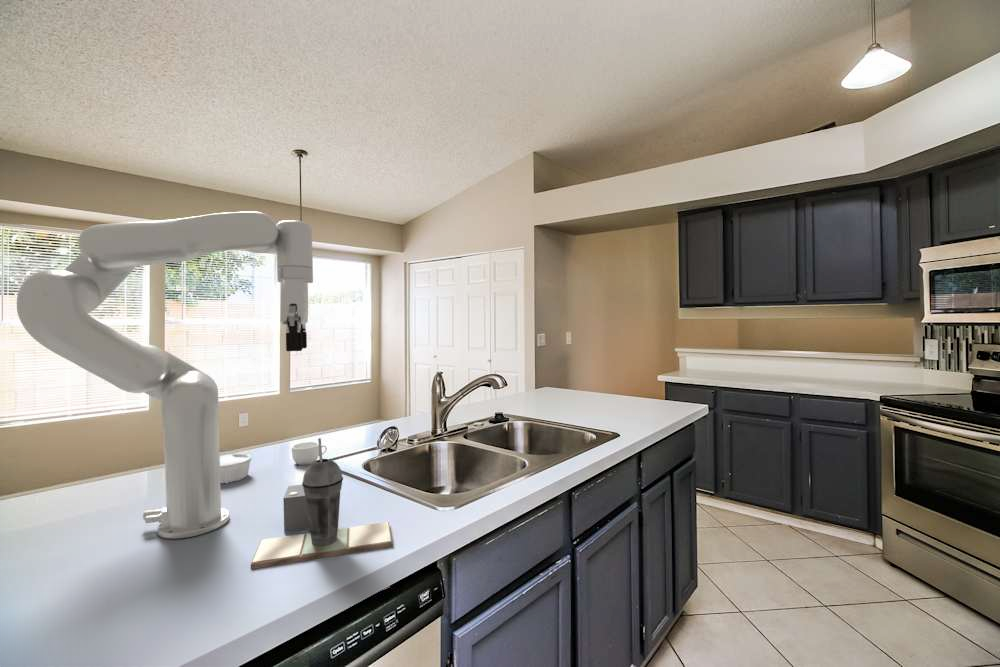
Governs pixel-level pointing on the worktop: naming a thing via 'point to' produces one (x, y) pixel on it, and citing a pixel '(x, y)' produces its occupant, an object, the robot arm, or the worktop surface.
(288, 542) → the game track
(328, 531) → the beverage cup
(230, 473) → the ramekin
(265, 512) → the worktop surface
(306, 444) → the teacup
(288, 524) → the die
